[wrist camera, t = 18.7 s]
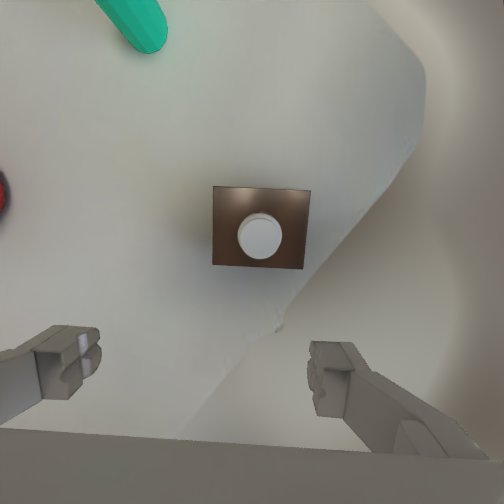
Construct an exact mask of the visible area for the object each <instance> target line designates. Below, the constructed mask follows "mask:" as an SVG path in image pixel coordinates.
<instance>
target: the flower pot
mask: <svg viewBox="0 0 504 504" xmlns="http://www.w3.org/2000/svg"><path fill="white" fill-rule="evenodd" d="M4 199H5V194H4V188H3V185H2V182H1V180H0V212H1V211H2V208H3V205H4Z"/></svg>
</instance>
